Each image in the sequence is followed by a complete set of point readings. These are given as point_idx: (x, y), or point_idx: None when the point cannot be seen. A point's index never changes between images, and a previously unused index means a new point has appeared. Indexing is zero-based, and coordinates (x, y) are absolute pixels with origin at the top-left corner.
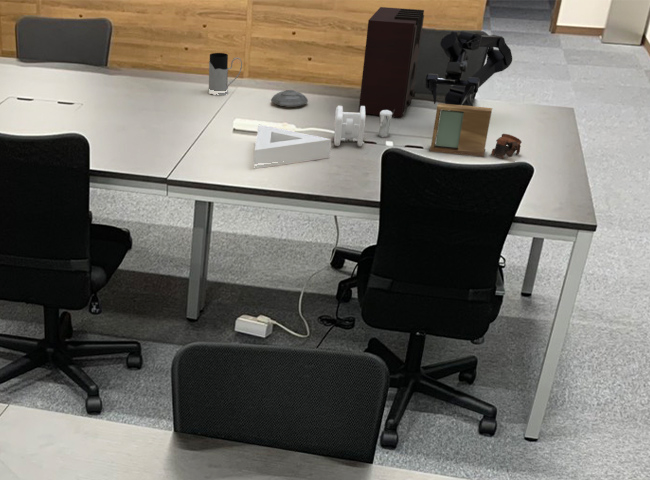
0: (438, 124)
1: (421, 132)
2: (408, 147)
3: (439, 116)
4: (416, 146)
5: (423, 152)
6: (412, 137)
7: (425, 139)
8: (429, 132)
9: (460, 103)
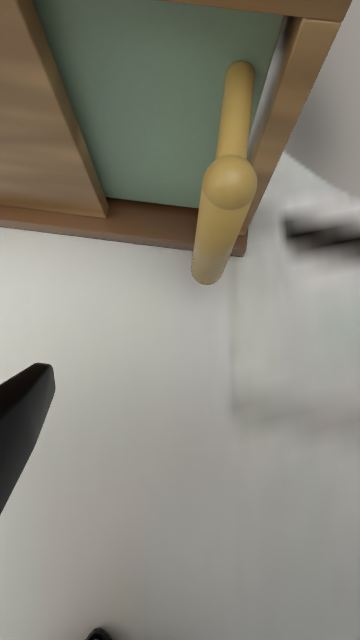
0: (253, 158)
1: (315, 526)
2: (354, 229)
3: (273, 80)
4: (317, 252)
5: (276, 171)
6: (356, 406)
7: (281, 383)
8: (267, 538)
9: (39, 370)
